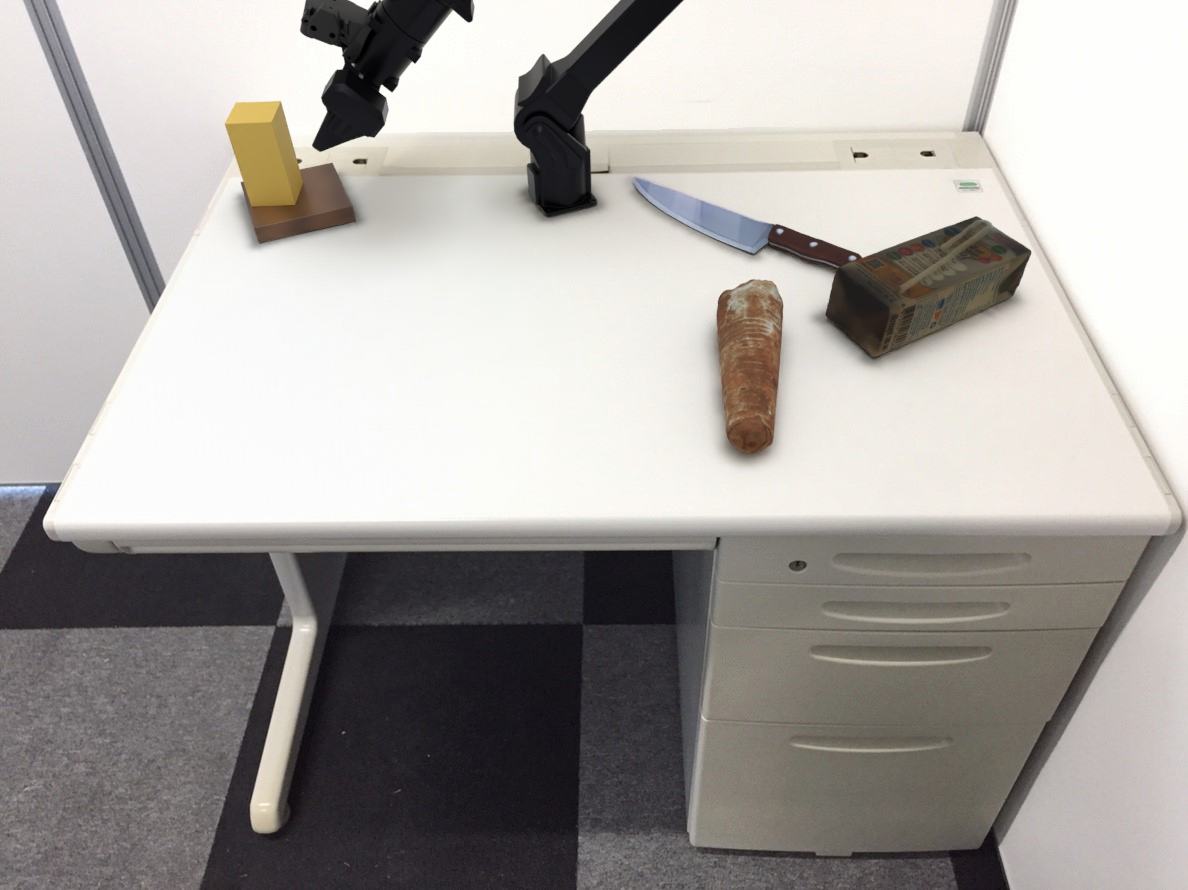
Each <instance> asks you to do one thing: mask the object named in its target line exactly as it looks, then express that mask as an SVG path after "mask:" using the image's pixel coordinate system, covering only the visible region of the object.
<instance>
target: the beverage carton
mask: <svg viewBox="0 0 1188 890" xmlns="http://www.w3.org/2000/svg"><path fill="white" fill-rule="evenodd" d="M1031 255H1032V250H1031V249H1030V248H1028V247H1027V246H1026V245H1024V244H1023V243H1021V242H1019V241H1017V240H1016V239H1014V238H1012V237H1011V236H1010V235H1007V234H1006V233H1004V231H1002V230H1000V229H998V228H997V227H995V226H994V225H993V223H992V222H991V221H990V220H987V219H983V218H981V217H980V216H977V215H976V216H973V217H969V218H967V219H964V220H962V221H961V220H960V221H958V222H957V223H956V222H955V223H954V224H950V225H947V226H944V227H941V228H939V229H936V230H933V231H930V232H928V233H924V234H922V235H920V236H917V237H914V238H911V239H909V240H905V241H902V242H900V243H898V244H896V245H893V246H890V247H887V248H884V249H881V250H879V251H877V252H874V253H872V254H870V255H866V256H864V257H863V256H862V258H861V259H858V260H856V261H853V262H850V263H848V264H846V265H844V266H841V267H837V269H835V272H834V275H833V280H832V283H831V289H830V293H829V297H828V302H827V305H826V310H825V313H824V314H825V317H826V318H827V319H828V320H830V321H831V322H832V323H833V324H834V325H835V326H836V327H838V328H840V329H841V331H843V332H844V333H845V334H846V335H848V336H849V338H850V339H851V340H853V341H854V342H855V343H857V344H858V346H860V347H861V348H862V349H863V350H864V351H866V352H867V353H868V355H869V356H871V357H873V358H876V357H878V356H880V355H882V354H885V353H887V352H890V351H893V350H895V349H897V348H899V347H902V346H904V345H907V344H909V343H911V342H913V341H915V340H918V339H920V338H922V337H925V336H927V335H929V334H932V333H934V332H936V331H939V330H942V329H943V328H945V327H948V326H950V325H953V324H955V323H957V322H959V321H961V320H963V319H966V318H968V317H970V316H973V315H975V314H977V313H980V312H982V311H985V310H987V309H989V308H991V307H992V306H993V307H994V306H995V305H997V304H1000V303H1002V302H1003V301H1006V300H1009V299H1011V298H1012V297H1014V295H1015V293H1016V291H1017V288H1018V287H1019V286H1020V284H1021V280H1022V278H1023V276H1024V273H1025V270H1026V267H1027V266H1028V262H1029V260H1030V258H1031Z"/></svg>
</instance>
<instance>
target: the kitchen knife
mask: <svg viewBox="0 0 1188 890" xmlns="http://www.w3.org/2000/svg"><path fill="white" fill-rule="evenodd" d="M632 180H633V183H634V186H635V187H636V189H637V190H638V192H639V193H640V194H641V195H642V196H643V197H644V198H645V199H646V200H648V201H649V202H650V203H651V204H652V205H654V206H655V207H656V208H658V209H659V210H661V212H664V214H666V215H668V216H670V217H672V218H674V219H675V220H677V221H678V222H680V223H683V224H684V225H686V226H688V227H689V228H691V229H694V230H695V231H698V232H700V233H702V234H704V235H706V236H709V237H710V238H713V239H715V240H717V241H720V242H722V243H724V244H727V245H730V246H732V247H735V248H737V249H739V250H743V251H745V252H748V253H751V254H755V253H757V252H758V251H759V250H761V249H762V248H763V247H764V246H766V245H767V244H768V246H770V248H773V249H775V250H779V251H782V252H785V253H789V254H791V255H793V256H795V257H797V258H800V259H801V260H803V261H806V262H808V263H813V264H818V265H823V266H826V267H829V268H832V269H835V270H836V269H837V267H841V266H844V265H846V264H848V263H850V262H853V261H856V260H858V259H861V258H863V256H862V255H861V254H859V253H858V252H855V251H852V250H849V249H847V248H844V247H842V246H839V245H836V244H833V243H831V242H828V241H825V240H824V239H820V238H817V237H813V236H811V235H808V234H805V233H803V232H800V231H797V230H795V229H793V228H790V227H787V226H785V225H782V224H779V223H775V224H774V223H771V222H770V223H769V222H766V221H762V220H759V219H756V218H753V217H750V216H748V215H745V214H743V213H740V212H737V211H734V210H731V209H728V208H726V207H724V206H720V205H717V204H715V203H712V202H709V201H706V200H704V199H701V198H699V197H695V196H692V195H689V194H687V193H684V192H681V191H679V190H675V189H673V188H670V187H667V186H665V185H661V184H659V183H657V182H654V181H651V180H648V179H645V178H642V177H638V176H633V178H632Z"/></svg>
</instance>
